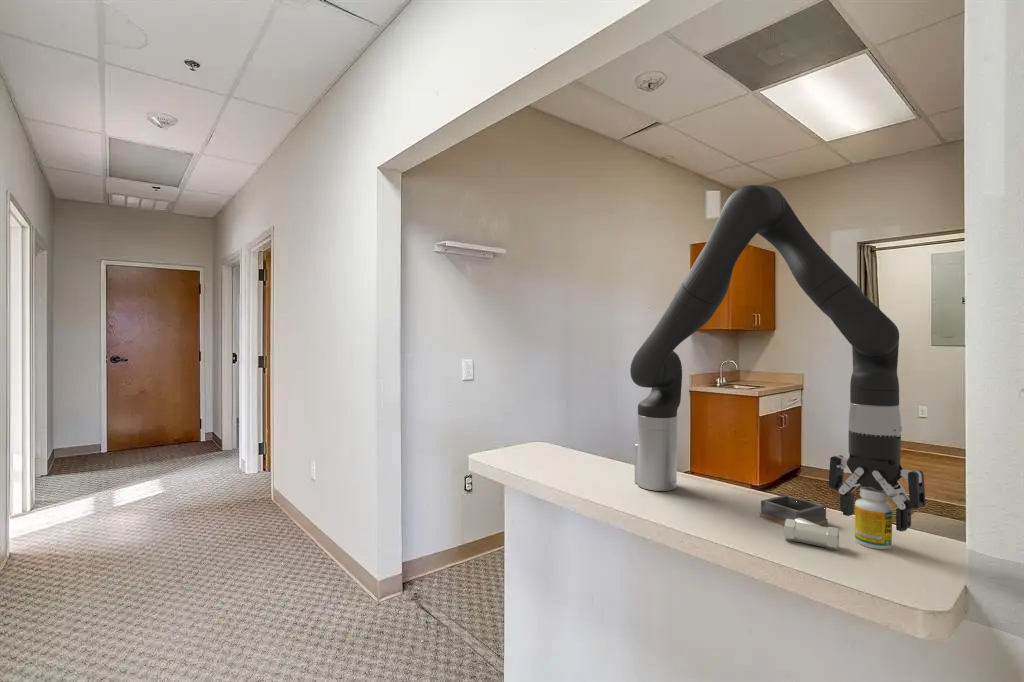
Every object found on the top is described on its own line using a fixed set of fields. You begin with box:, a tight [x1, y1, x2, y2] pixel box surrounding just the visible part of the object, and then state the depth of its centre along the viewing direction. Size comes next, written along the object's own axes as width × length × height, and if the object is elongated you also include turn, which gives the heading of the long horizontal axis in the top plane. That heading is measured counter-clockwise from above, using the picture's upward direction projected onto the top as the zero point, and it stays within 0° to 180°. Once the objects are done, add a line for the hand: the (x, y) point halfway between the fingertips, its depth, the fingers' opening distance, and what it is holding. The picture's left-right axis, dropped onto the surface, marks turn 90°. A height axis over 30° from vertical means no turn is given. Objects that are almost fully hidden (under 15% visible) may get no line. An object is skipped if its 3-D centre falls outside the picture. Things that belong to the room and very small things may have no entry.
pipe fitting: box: [783, 518, 840, 552], centre depth 91 cm, size 8×4×7 cm
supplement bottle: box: [854, 486, 893, 550], centre depth 90 cm, size 5×5×10 cm
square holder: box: [758, 494, 829, 526], centre depth 102 cm, size 9×9×3 cm
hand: (874, 522), depth 90 cm, fingers open, 8 cm apart
